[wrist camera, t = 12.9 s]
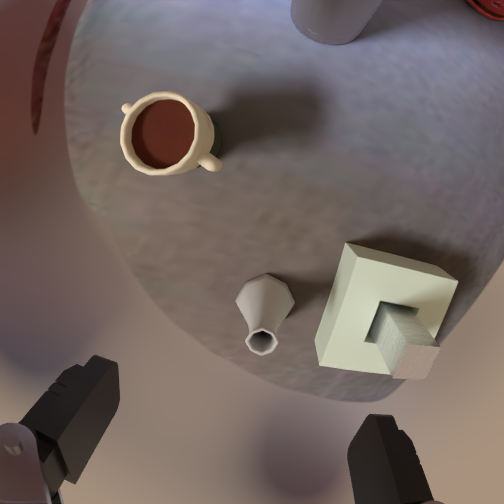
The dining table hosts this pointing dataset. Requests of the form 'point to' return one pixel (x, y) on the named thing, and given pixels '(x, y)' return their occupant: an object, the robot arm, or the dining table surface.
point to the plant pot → (489, 8)
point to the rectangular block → (403, 341)
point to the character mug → (169, 135)
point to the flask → (264, 311)
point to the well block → (376, 304)
